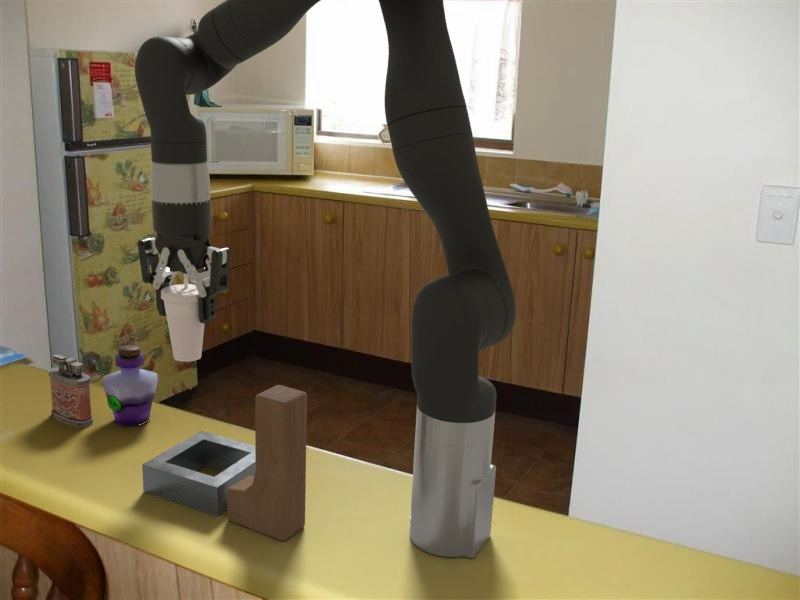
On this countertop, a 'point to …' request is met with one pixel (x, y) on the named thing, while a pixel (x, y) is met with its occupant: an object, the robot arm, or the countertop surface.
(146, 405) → the potion bottle
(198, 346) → the smoothie
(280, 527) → the wooden block
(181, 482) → the frame
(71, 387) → the lighter
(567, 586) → the countertop surface
